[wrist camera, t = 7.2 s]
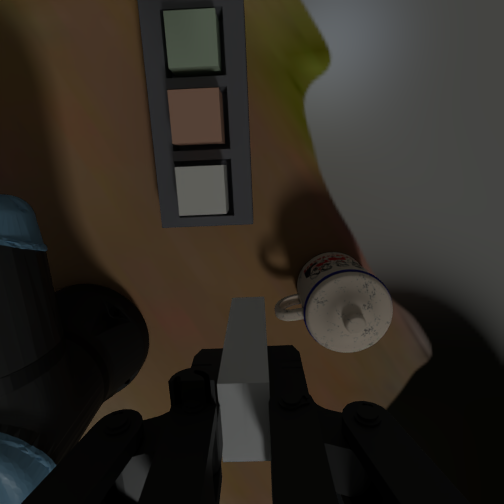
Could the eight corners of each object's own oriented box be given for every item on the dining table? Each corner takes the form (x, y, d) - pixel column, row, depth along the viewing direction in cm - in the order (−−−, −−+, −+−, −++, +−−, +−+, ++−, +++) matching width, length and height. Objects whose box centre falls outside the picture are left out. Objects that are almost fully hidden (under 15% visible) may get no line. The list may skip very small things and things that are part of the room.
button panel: (171, 221, 42) (162, 227, 38) (149, 16, 37) (137, -2, 33) (253, 218, 42) (253, 224, 38) (244, 11, 36) (242, -8, 32)
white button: (186, 211, 39) (179, 215, 35) (182, 166, 37) (174, 167, 34) (229, 209, 38) (226, 213, 35) (226, 164, 37) (223, 165, 34)
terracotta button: (180, 145, 37) (172, 143, 33) (175, 97, 36) (167, 90, 32) (225, 143, 37) (221, 141, 33) (222, 94, 36) (218, 87, 32)
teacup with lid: (362, 242, 42) (400, 271, 31) (370, 310, 45) (409, 359, 33) (266, 261, 43) (269, 295, 32) (279, 326, 45) (286, 380, 34)
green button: (176, 77, 36) (168, 68, 33) (172, 25, 35) (163, 10, 32) (222, 74, 36) (218, 65, 33) (219, 23, 35) (215, 8, 32)
